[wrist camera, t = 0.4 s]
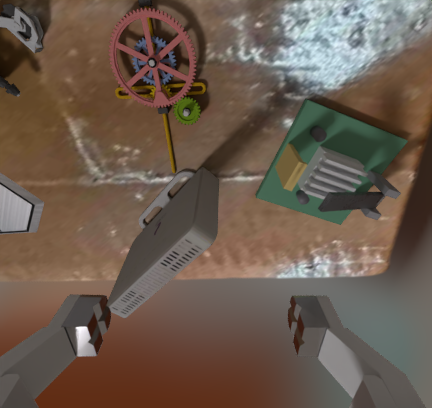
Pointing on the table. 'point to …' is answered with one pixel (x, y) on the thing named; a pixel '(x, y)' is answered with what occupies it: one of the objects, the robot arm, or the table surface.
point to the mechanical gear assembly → (157, 69)
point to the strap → (350, 201)
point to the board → (329, 162)
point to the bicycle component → (20, 34)
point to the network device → (168, 240)
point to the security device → (18, 208)
